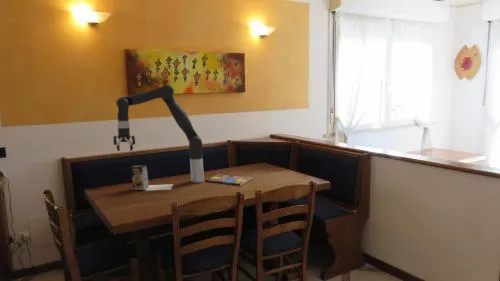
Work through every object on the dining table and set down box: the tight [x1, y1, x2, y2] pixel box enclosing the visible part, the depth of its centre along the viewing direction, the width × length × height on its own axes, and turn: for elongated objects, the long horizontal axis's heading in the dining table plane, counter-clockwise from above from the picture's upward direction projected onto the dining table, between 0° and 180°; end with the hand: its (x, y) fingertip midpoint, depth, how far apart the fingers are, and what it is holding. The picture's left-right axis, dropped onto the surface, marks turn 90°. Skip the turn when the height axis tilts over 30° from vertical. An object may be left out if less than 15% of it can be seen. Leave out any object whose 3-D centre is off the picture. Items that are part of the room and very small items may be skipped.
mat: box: [145, 183, 174, 192], centre depth 274 cm, size 17×13×1 cm
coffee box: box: [130, 164, 149, 191], centre depth 271 cm, size 9×6×16 cm
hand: (125, 150), depth 269 cm, fingers open, 8 cm apart
